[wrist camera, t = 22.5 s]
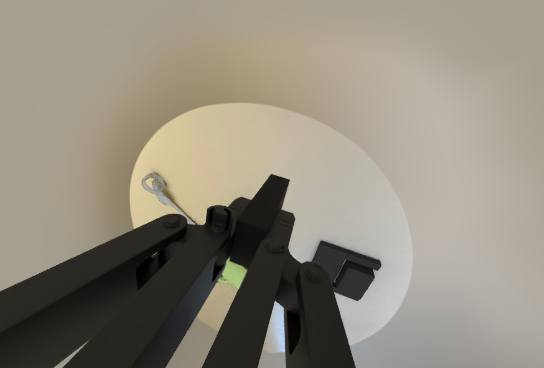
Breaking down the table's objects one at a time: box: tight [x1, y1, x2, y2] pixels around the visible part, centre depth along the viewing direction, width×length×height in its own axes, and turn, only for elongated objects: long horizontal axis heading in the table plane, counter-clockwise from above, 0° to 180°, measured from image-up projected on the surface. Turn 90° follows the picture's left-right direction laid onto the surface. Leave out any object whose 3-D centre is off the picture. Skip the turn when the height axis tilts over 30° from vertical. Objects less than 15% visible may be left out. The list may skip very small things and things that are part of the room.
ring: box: [142, 173, 165, 194], centre depth 50 cm, size 3×5×5 cm, turn 38°
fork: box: [152, 179, 196, 225], centre depth 54 cm, size 3×21×3 cm, turn 40°
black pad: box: [312, 241, 381, 301], centre depth 48 cm, size 14×13×2 cm
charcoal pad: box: [336, 260, 375, 299], centre depth 47 cm, size 6×8×3 cm
